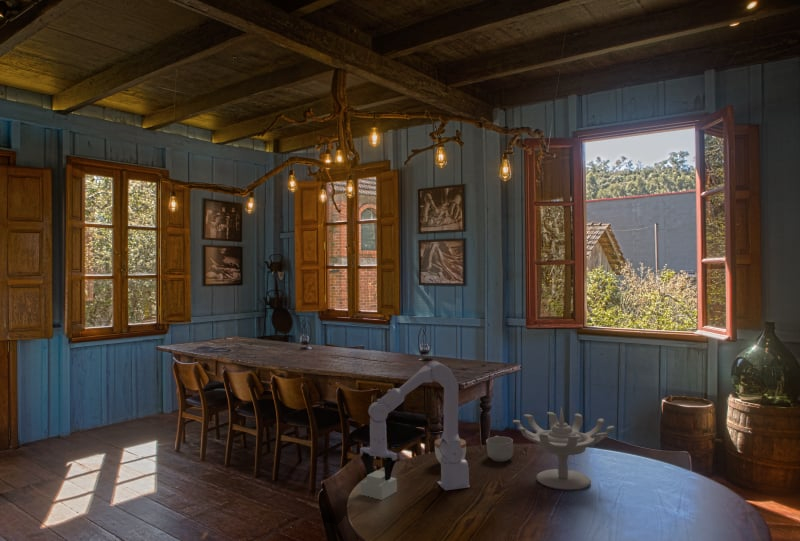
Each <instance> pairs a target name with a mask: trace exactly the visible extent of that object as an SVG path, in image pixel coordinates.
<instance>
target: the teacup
mask: <svg viewBox="0 0 800 541" xmlns="http://www.w3.org/2000/svg"><path fill="white" fill-rule="evenodd" d="M485 443H486V452H487V456H488V457H489V458H490V459H491V460H492V461H495V462H499V463H503V462H507V461H509V460H510V459H511V458H512V457H513V455H514V439H513V438H511V437H508V436H499V435H495V436H492V437H489V438H487V439H486V440H485Z"/></svg>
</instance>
